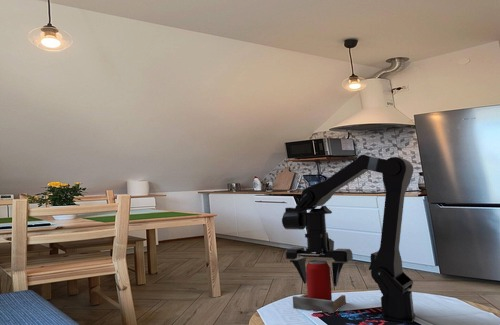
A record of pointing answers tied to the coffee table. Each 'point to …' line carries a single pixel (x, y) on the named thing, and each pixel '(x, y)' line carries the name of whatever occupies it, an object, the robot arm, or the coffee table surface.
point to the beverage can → (318, 280)
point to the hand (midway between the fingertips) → (320, 284)
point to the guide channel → (318, 303)
